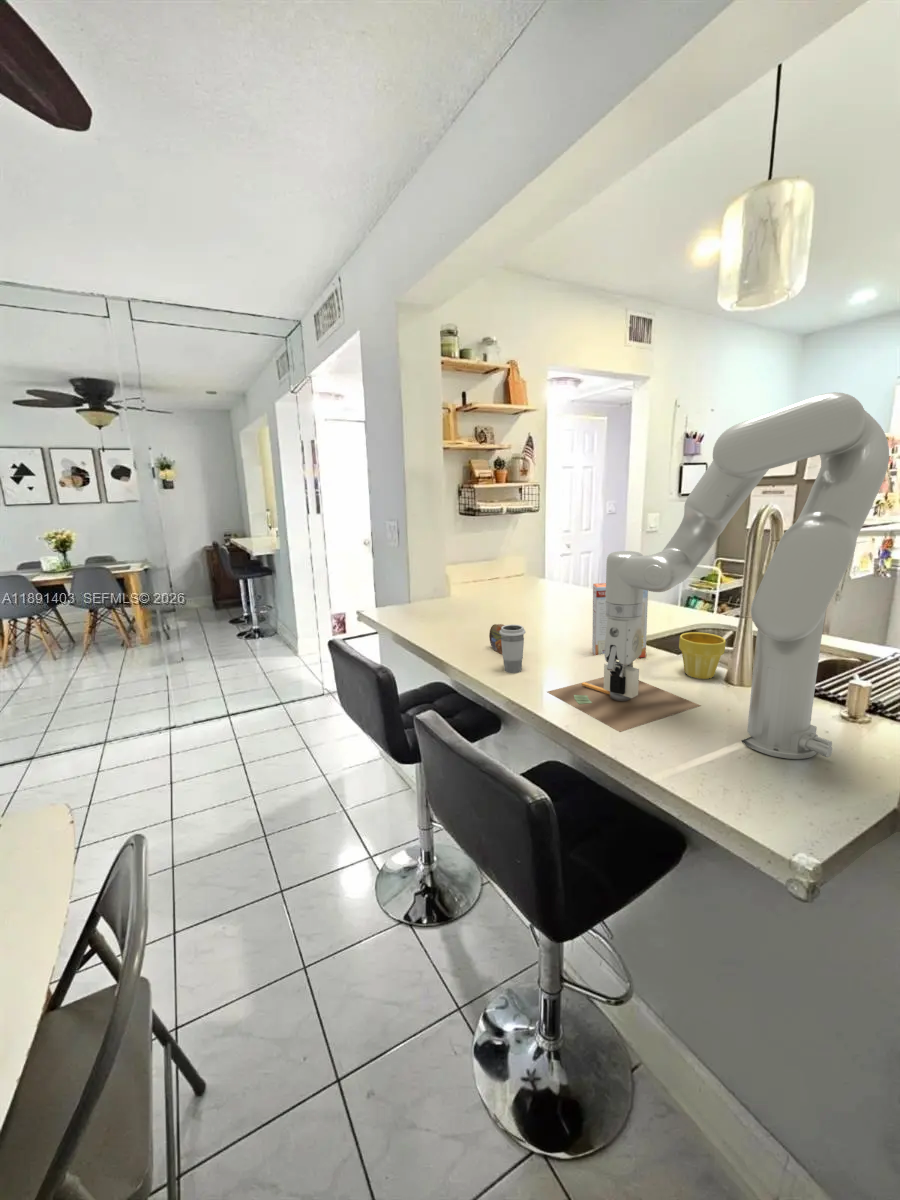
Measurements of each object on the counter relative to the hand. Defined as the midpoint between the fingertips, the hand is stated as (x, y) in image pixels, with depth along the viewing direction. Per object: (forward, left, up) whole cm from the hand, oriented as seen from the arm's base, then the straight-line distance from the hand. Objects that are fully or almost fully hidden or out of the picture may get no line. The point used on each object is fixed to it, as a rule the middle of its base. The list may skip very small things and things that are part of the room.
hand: (620, 689), depth 111 cm
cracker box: (+25, -24, -4) cm, 35 cm away
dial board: (0, 0, -4) cm, 4 cm away
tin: (+44, +2, -4) cm, 44 cm away
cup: (+31, +8, -4) cm, 32 cm away
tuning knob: (+3, +1, -2) cm, 4 cm away
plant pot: (+3, -30, -4) cm, 30 cm away
